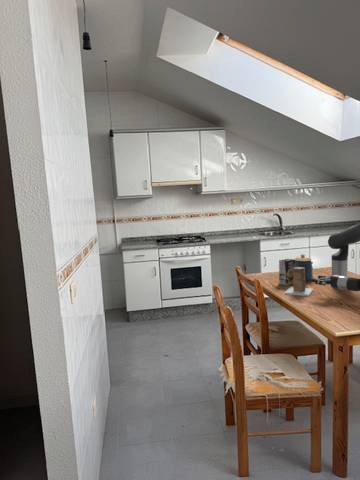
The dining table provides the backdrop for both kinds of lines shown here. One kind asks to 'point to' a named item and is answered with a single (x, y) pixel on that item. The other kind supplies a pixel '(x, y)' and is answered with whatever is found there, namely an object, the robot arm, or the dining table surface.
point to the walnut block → (299, 279)
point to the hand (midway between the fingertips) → (314, 278)
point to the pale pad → (303, 293)
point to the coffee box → (286, 271)
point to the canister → (305, 266)
